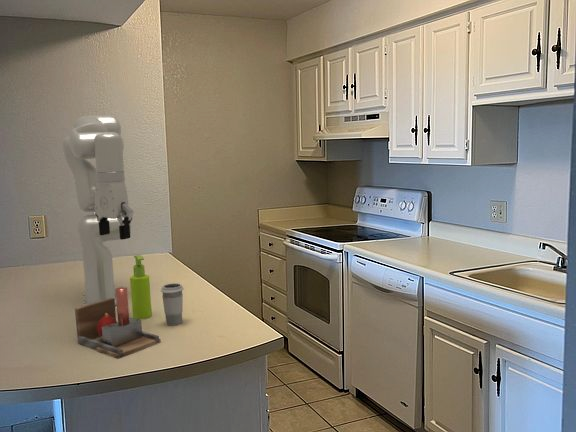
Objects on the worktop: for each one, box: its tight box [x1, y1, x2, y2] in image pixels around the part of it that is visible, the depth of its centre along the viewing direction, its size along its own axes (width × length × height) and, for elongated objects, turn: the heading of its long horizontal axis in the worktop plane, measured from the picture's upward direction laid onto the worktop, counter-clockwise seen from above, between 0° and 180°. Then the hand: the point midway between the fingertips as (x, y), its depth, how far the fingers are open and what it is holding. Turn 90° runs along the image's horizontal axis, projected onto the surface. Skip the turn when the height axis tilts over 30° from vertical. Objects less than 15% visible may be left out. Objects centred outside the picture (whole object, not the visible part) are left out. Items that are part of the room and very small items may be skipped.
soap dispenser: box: [129, 254, 153, 320], centre depth 179 cm, size 6×7×20 cm
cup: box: [160, 282, 185, 327], centre depth 172 cm, size 7×7×12 cm
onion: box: [97, 313, 118, 338], centre depth 159 cm, size 6×6×8 cm
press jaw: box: [102, 286, 143, 347], centre depth 155 cm, size 5×10×15 cm, turn 142°
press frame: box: [74, 298, 162, 359], centre depth 157 cm, size 20×14×10 cm
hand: (114, 236), depth 162 cm, fingers open, 9 cm apart
